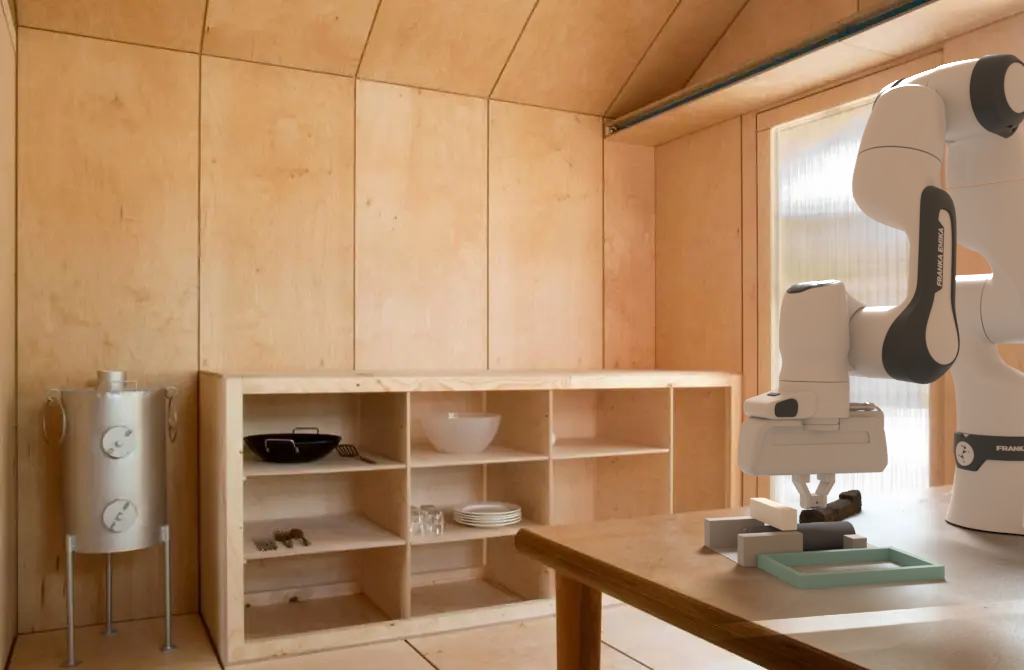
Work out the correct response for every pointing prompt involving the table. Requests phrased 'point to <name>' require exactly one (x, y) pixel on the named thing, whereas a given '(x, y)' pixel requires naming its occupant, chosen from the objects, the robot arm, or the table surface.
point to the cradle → (758, 540)
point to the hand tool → (834, 509)
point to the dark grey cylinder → (815, 534)
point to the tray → (913, 571)
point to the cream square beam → (773, 513)
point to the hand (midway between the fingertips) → (813, 508)
